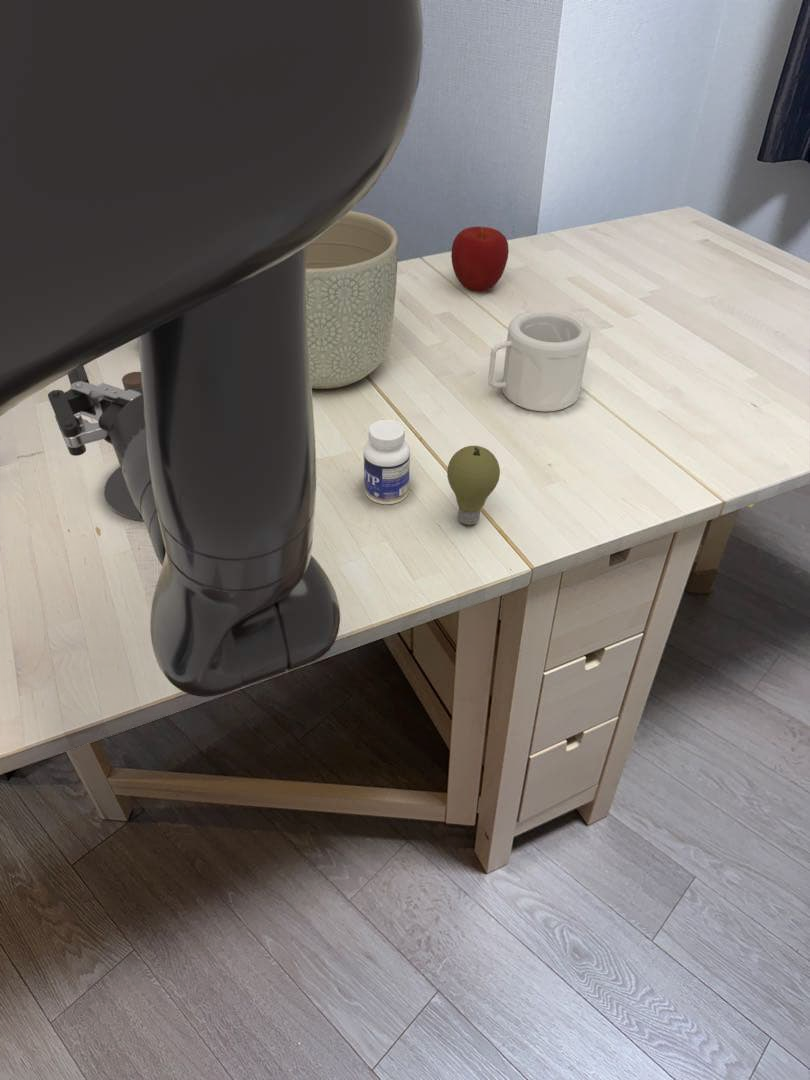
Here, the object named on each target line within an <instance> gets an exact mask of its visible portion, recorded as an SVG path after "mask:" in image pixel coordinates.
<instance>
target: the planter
mask: <svg viewBox="0 0 810 1080" xmlns="http://www.w3.org/2000/svg"><path fill="white" fill-rule="evenodd" d="M398 239H399V238H398V234H397V232H396V230H395V229H394V228H393V227H392V226H391V225H390V224H389V223H388V222H386V221H384V220H382V219H380V218H378V217H376V216H374V215H370V214H367V213H363V212H358V211H354V210H350V211H349V212H348V213H347V214H346V215H345V216H343V217H342V218H341V219H340V220H339V221H338V222H336V223H335V224H334V225H333V226H332V227H331V228H330V229H328V230H327V231H326V232H325V233H324V234H323V235H321V236H320V237H318V238H317V239H316V240H314V241H313V242H311V243H310V244H309V245H307V246H306V317H307V337H308V350H309V363H310V376H311V387H312V389H318V390H328V389H336V388H337V389H338V388H341V387H346V386H349V385H352V384H355V383H357V382H359V381H360V380H362V379H364V378H366V377H367V376H369V375H370V374H371V373H373V372H374V371H375V370H376V369H377V368H378V367H379V366H380V365H381V363H382V362H383V360H384V359H385V357H386V355H387V353H388V350H389V347H390V343H391V337H392V331H393V326H394V317H395V316H394V315H395V306H396V305H395V304H396V294H397V293H396V291H397V281H398V280H397V279H398V262H399V261H398V258H399V257H398V256H399V240H398Z"/></svg>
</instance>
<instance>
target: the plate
mask: <svg viewBox="0 0 810 1080" xmlns="http://www.w3.org/2000/svg"><path fill="white" fill-rule="evenodd" d="M103 494H104V498H105V502H106V504H107V505H108V507H109V508H110V510H112V512H114V513H115V514H116V515H119V516H120V517H122V518H125V519H128V520H132V521H137V522H144V520H143V517H142V515H141V514H140V512H139V511H138V509H137V507H136V506H135V504H134V502H133V500H132V497H131V496H130V494H129V493H128V491H127V488H126V481H125V478H124V475H123V472H122V470H121V467H120V466H119V467H117V468H116V469H115V470H114V471H113V472H112V473H111V474H110V475H109V477H108V478H107V480H106V482H105V485H104V489H103Z"/></svg>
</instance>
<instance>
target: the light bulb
mask: <svg viewBox="0 0 810 1080" xmlns="http://www.w3.org/2000/svg"><path fill="white" fill-rule="evenodd" d="M446 476H447V481H448V484H449V487H450V488H451V490H452V491H453V493H454V495H455V499H456V503H457V506H458V511H457V519H458V521H459V522H460V523H462V524H463V525H467V526H471V525H475V524H477V523H478V522H479V521H480V518H481V511H482V508H483V507H484V506H485V504H486V501H487V499H488V497H489V496H490V495H491V494H492V493H493V492H494V490H495V489H496V488H497V486H498V483H499V481H500V476H501V467H500V464H499V461H498V459H497V457H496V456H495V455H494V453H492V452H491V451H490V450H489V449H487V448H486V447H483V446H480V445H468V446H464V447H462V448H460V449H458V450H457V451H456V452H455V453H454V454H453V455H452V457H450V460H449V462H448V465H447V468H446Z"/></svg>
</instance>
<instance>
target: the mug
mask: <svg viewBox="0 0 810 1080" xmlns="http://www.w3.org/2000/svg"><path fill="white" fill-rule="evenodd" d="M506 337H507V338H506V341H503V342H499V343H496V344H495V345H494V346H492V348H491V350H490V357H489V365H488V366H489V367H488V376H487V377H488V378H487V385H488V386H489V387H490V388H493V389H502V392H503V395H504V396H505V397H506V398H507V399H508V400H509V401H510V402H512V404H515V405H516V406H518V407H521V408H522V409H527V410H530V411H535V412H556V411H561V410H563V409H565V408H568V407H570V406H572V405H573V404H574V403H576V402H577V400H578V399H579V396H580V392H581V388H582V382H583V376H584V372H585V366H586V362H587V358H588V357H587V356H588V352H589V346H590V342H591V337H592V332H591V329H590V327H589V325H588V323H586V321H584V319H582V318H580V317H578V316H576V315H574V314H572V313H569V312H565V311H561V310H556V309H535V310H534V309H532V310H527V311H524V312H521V313H519V314H517V315H516V316H514V317H513V318H512V319H511V320H510V322H509V325H508V329H507V336H506ZM504 348H505V354H504V355H505V356H504V364H503V372H502V381H501V382H500V381H499V382H495V381H494V378H495V377H494V376H495V367H496V357H497V352H498V351H501V350H502V349H504Z"/></svg>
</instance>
